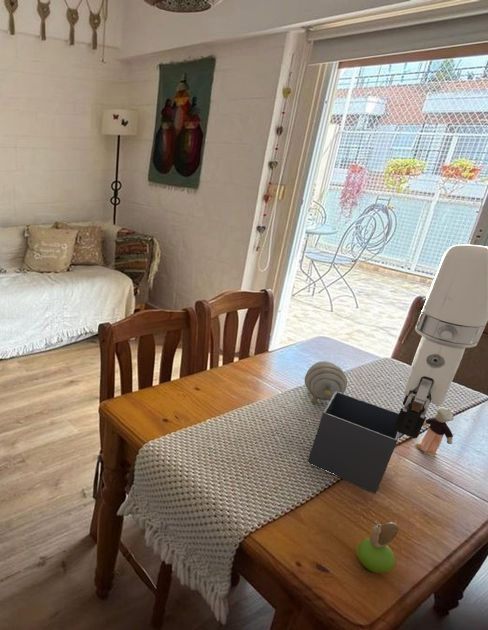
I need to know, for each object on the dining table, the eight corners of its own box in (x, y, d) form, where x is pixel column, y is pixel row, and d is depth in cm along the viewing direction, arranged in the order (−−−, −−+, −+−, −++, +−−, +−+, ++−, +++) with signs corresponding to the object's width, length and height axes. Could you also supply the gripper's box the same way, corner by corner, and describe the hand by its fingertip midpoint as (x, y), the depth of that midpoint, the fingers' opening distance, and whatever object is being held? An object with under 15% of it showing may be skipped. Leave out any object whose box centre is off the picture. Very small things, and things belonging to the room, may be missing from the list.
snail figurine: (342, 559, 80) (361, 510, 75) (367, 548, 82) (387, 501, 77) (370, 586, 75) (392, 536, 71) (396, 574, 77) (419, 525, 73)
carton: (384, 465, 103) (405, 415, 97) (375, 494, 95) (397, 440, 89) (320, 439, 111) (335, 391, 105) (307, 463, 103) (322, 412, 97)
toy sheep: (335, 387, 133) (345, 355, 129) (347, 419, 119) (359, 385, 114) (297, 381, 136) (305, 349, 132) (304, 411, 122) (314, 377, 117)
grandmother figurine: (406, 443, 110) (424, 401, 105) (417, 440, 111) (435, 398, 106) (438, 464, 104) (458, 420, 99) (449, 461, 105) (470, 417, 100)
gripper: (478, 355, 58) (431, 457, 65) (482, 319, 70) (442, 408, 77) (410, 337, 63) (372, 433, 70) (424, 305, 74) (391, 390, 81)
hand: (409, 420), depth 73 cm, fingers open, 9 cm apart
